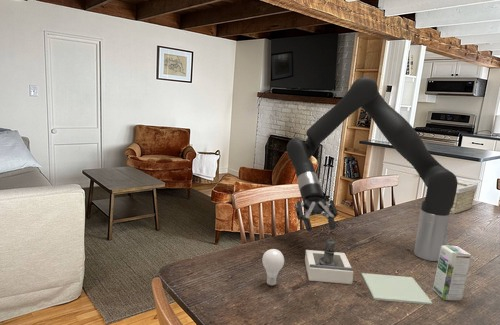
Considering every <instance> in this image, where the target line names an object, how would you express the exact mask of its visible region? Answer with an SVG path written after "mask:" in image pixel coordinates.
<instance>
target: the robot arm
mask: <svg viewBox="0 0 500 325" xmlns="http://www.w3.org/2000/svg"><path fill="white" fill-rule="evenodd" d="M378 89H379V87H378V83H377V82H376V80H374V79H373V78H372V77H368V76H362V77H359V78H357V79H356V80H354V81H353V83H352V84H351V86H350V87H349V89H348V90H347V92H346V94H344V96H343V97H342V98H341V99H340V100H339V101H338V102H337V103H335V105H334V106H333V107H331V109H329V110H328V111H326V113H324V114H323V115H322V116H321V117H320V118H318V119H317V120H316V121H315V122H314V123H313V124H312V125H311V126H310V127H309V128H308V129H307V131H306V134H305V135H306V136H307V138H306V140H305V141H304V140H302V139H300V138H292V139H290V140H289V141H288V143H287V145H286V153H287V156H288V158H289V160H290V162H291V164H292V167H293V168H294V171H295V175H296V180H297V185H298V190H299V193H300V194H299V195H300V196H301V197H300V198H301V201H302V202H301V201H300V200H297V202H296V203H294V204H295V205H294V207H295V208H294V209H295V213H296V218H297V220H298V221H300V220H301V221H303V224H304V228H305V230H306V231H307V232H311V231H312V230H313V227H312V223H311V219H310V216H311V215H322V217H325V218H326V219H327V223H328V226H329V229H330V231H334V230H335V229H336V227H337V225H336V221H335V218H336V217H337V216H338V215H339V213H338V211H337V207H336V205H335V203H334V200H332V199H331V200H329V201H326V200H325V199H324V192H323V190H322V186H321V184H320V180H319V177H318V176H317V173H316V169H315V166H314V164H313V162H312V161H311V157H312V156H313V155H314V154H315V152H316V151H317V150H318V149H319V146H320V145H321V143H322V142H324V140H326V139H327V138H328V137H329V136H330V135H331V134H332V133H333V132H334V131H335V130H336V129H337V128H338V127H340V125H341V124H342V123H343V122H344V121H345V120H346V119H348V118H349V117H350V116H351V115H352V114H353V113H354V112H356V111H357V110H358V109H360V108H361V109H362V110H364V111H365V113H366V114H368V115H369V117H370V118H371V119H372V120H373V122H374V123H375V125H376V127H377V128H378V130H379V131H380V132H381V134H382V135H383V136H384V138H385V139H386V140H387V141H388V143H389V144H390V145H391V146H392V147H393V149H394V150H395V151H396V152H398V154H399V155H400V156H401V157H403V158H404V159H405V160H406V161H407V162H409V164H410V165H411V166H412V167H413V169H415V171H416V172H417V174H418V176H419V177H420V179H421V180H422V182H423V183H424V185H425V186H426V193H425V197H424V200H423V201H422V202H421V206H420V213H419V218H418V226H417V231H416V232H417V233H416V237H415V244H414V250H413V254H414V255H415V256H416V257H418V258H420V259H422V260H425V261H430V262H438V260H439V255H440V250H441V246H446V245H448V241H449V234H447V230H448V225H449V219H450V214H451V213H450V210H451V209H452V207H453V204H454V200H455V195H456V191H457V188H458V184H457V180H458V178H457V176H456V175H455V173H454V172H452V171H450V170H449V169H447V168H446V167H445V166H444V165H442V164H441V163H440V162H439V161H438V160H437V159H436V158H435V157H434V156H433V155H432V154H431V153H430V151H429V150H428V149H427V147H426V145H425V144H424V141H423V140H422V138H421V136H420V135H419V134H418V132H417V130H415V129H414V127H413V126H412V125H411V124H410V123H409V121H407V119H405V117H403V116H402V115H401V114H400V113H399V112H398V111H397V110H395V109H394V108H393V107H391V106H390V105H389V103H387V102H386V100H385V99H384V98H383V96H382V95H381V94H380V92H379V90H378ZM303 208H304V209H305V210H306V211H305V213H304V212H303Z"/></svg>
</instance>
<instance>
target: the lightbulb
mask: <svg viewBox="0 0 500 325" xmlns="http://www.w3.org/2000/svg"><path fill="white" fill-rule="evenodd" d="M261 261H262V265H263V267H264V269H265V272H266V275H267V278H266V284H267V285H268V286H275V285H276V284H277V277H278V274H279V272H280V271H281V269H282V268H283V267H284V264H285V257H284V255H283V253H282V252H281V251H280V250H279V249H276V248H270V249H268V250H266V251H265V252H264V253H263V255H262V260H261Z"/></svg>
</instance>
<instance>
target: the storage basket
mask: <svg viewBox="0 0 500 325" xmlns="http://www.w3.org/2000/svg"><path fill="white" fill-rule="evenodd" d="M458 185H459V186H462V187H457V191H456V195H455V200H454V204H453V207H452V209H451V210H450V214H451V215H456V214H457V213H458V214H459V213H461V212H463V211H466V210H470V209H473V207H472V206H473V202H474V199H475V194H476V192H477V189H478V184H477V183H475V182H472V181H471V182H470V181H465V180H461V179H457V186H458ZM455 213H456V214H455Z"/></svg>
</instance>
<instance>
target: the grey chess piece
mask: <svg viewBox="0 0 500 325" xmlns="http://www.w3.org/2000/svg"><path fill="white" fill-rule="evenodd" d="M335 244H336V242H335V240H333V237H331V236H330V237H329V238H328V239H326V240H325V244H324V249H323V251H324V257H323V258H320V259H319V262H320V265H326V266H336V265H337V261H336V260H334V253H335V252H336V250H335V246H336V245H335Z"/></svg>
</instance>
